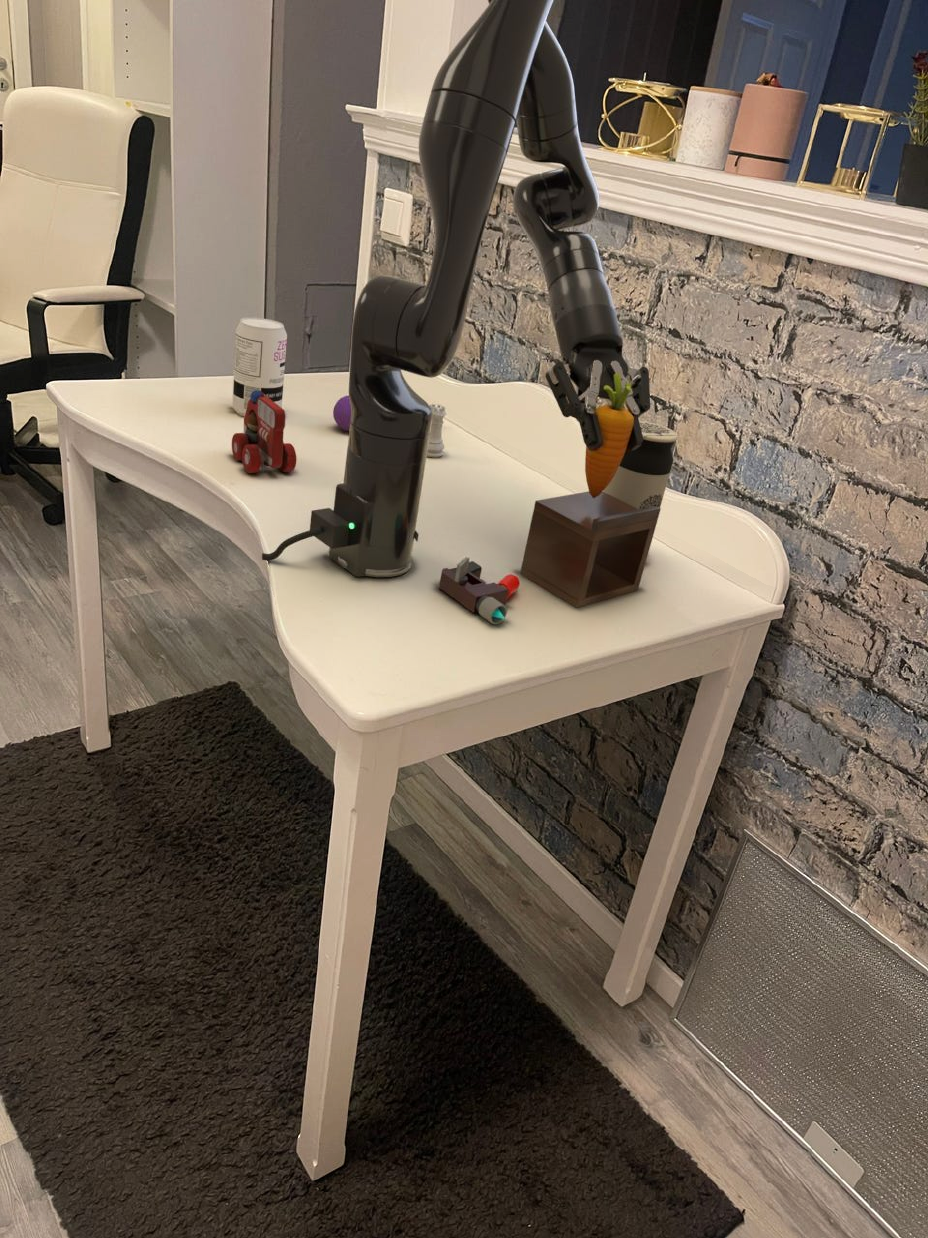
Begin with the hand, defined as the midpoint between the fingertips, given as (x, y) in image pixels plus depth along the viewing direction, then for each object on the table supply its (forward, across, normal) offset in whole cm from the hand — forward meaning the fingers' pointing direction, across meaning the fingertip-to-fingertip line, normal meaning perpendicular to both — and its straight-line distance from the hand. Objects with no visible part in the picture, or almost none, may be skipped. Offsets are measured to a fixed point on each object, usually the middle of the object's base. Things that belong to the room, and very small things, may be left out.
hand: (615, 447), depth 111 cm
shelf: (+12, 0, +14) cm, 19 cm away
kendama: (-29, -3, +56) cm, 63 cm away
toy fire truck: (-17, -29, +44) cm, 55 cm away
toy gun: (+14, -14, +12) cm, 24 cm away
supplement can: (-34, -23, +61) cm, 74 cm away
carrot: (+4, 0, +6) cm, 8 cm away
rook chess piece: (-20, 0, +47) cm, 51 cm away
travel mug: (+7, +11, +19) cm, 23 cm away
